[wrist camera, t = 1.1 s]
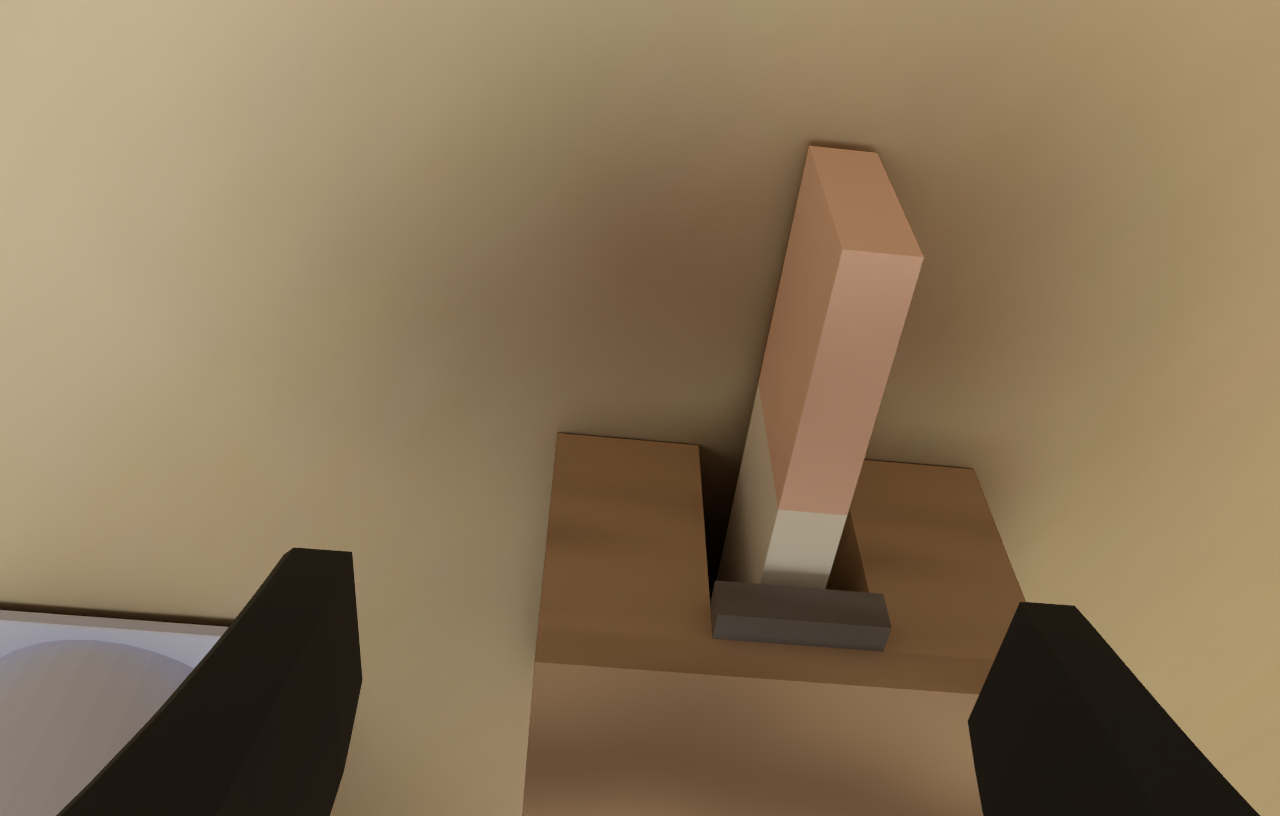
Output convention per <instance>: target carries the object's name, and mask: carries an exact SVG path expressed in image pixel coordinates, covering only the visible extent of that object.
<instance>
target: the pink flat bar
mask: <svg viewBox="0 0 1280 816" xmlns="http://www.w3.org/2000/svg"><path fill="white" fill-rule="evenodd" d="M923 259H924V256H923V254H922V252H921V249H920V247H919V245H918V243H917V241H916V238H915V236H914V234H913V232H912V229H911V227H910V225H909V223H908V220H907V218H906V216H905V214H904V211H903V209H902V207H901V205H900V203H899V200H898V198H897V196H896V194H895V191H894V189H893V187H892V185H891V182H890V180H889V178H888V176H887V173H886V171H885V169H884V167H883V165H882V162H881V160H880V158H879V156H878V153H874V152H864V151H855V150H845V149H836V148H826V147H817V146H809V148H808V153H807V158H806V162H805V167H804V172H803V176H802V181H801V186H800V190H799V195H798V200H797V204H796V209H795V214H794V219H793V223H792V228H791V233H790V237H789V242H788V247H787V251H786V256H785V261H784V266H783V270H782V275H781V280H780V284H779V289H778V294H777V298H776V303H775V308H774V312H773V317H772V322H771V327H770V331H769V336H768V341H767V345H766V350H765V355H764V359H763V364H762V369H761V373H760V378H759V383H758V388H757V392H756V397H755V402H754V406H753V411H752V416H751V420H750V425H749V430H748V434H747V439H746V444H745V449H744V453H743V458H742V463H741V467H740V472H739V477H738V481H737V486H736V491H735V495H734V500H733V505H732V510H731V514H730V519H729V524H728V528H727V533H726V538H725V542H724V547H723V552H722V556H721V561H720V566H719V571H718V575H717V580H716V581H727V582H740V583H752V584H765V585H778V586H790V587H803V588H816V589H826V585H827V582H828V578H829V575H830V572H831V568H832V565H833V562H834V558H835V555H836V552H837V548H838V545H839V542H840V538H841V535H842V531H843V528H844V525H845V521H846V518H847V515H848V511H849V508H850V505H851V501H852V498H853V494H854V491H855V488H856V484H857V481H858V478H859V474H860V471H861V468H862V464H863V461H864V458H865V454H866V451H867V447H868V444H869V441H870V437H871V434H872V431H873V427H874V424H875V421H876V417H877V414H878V411H879V407H880V404H881V400H882V397H883V394H884V390H885V387H886V384H887V380H888V377H889V374H890V370H891V367H892V363H893V360H894V357H895V353H896V350H897V347H898V343H899V340H900V337H901V333H902V330H903V327H904V323H905V320H906V316H907V313H908V310H909V306H910V303H911V300H912V296H913V293H914V290H915V286H916V283H917V279H918V276H919V273H920V269H921V266H922V263H923Z"/></svg>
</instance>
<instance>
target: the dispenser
mask: <svg viewBox="0 0 1280 816" xmlns="http://www.w3.org/2000/svg"><path fill="white" fill-rule="evenodd" d="M1020 602H1026V601H1025V598H1024V596H1023V593H1022V591H1021V588H1020V586H1019V583H1018V581H1017V578H1016V576H1015V573H1014V571H1013V568H1012V565H1011V563H1010V560H1009V558H1008V555H1007V553H1006V550H1005V548H1004V545H1003V543H1002V540H1001V538H1000V535H999V532H998V530H997V527H996V525H995V522H994V520H993V517H992V515H991V512H990V510H989V507H988V505H987V502H986V499H985V497H984V494H983V492H982V489H981V487H980V484H979V482H978V479H977V477H976V474H975V472H974V469H964V468H952V467H941V466H929V465H918V464H906V463H895V462H883V461H872V460H864V461H863V464H862V468H861V471H860V474H859V478H858V481H857V484H856V488H855V491H854V494H853V498H852V501H851V505H850V508H849V511H848V515H847V518H846V521H845V525H844V528H843V531H842V535H841V538H840V542H839V545H838V548H837V552H836V555H835V558H834V562H833V565H832V568H831V572H830V575H829V578H828V582H827V585H826V589H816V588H803V587H790V586H778V585H765V584H752V583H740V582H727V581H715V584H714V589H713V593H712V598H711V603H710V596H709V582H708V569H707V555H706V541H705V527H704V513H703V499H702V486H701V472H700V458H699V445H688V444H677V443H666V442H654V441H643V440H631V439H620V438H608V437H597V436H585V435H574V434H562V433H557V443H556V453H555V463H554V473H553V483H552V493H551V503H550V513H549V523H548V533H547V543H546V553H545V563H544V573H543V583H542V593H541V603H540V613H539V623H538V633H537V643H536V653H535V663H534V676H533V688H532V701H531V713H530V726H529V738H528V751H527V763H526V776H525V788H524V801H523V813H522V816H984V815H983V812H982V806H981V801H980V795H979V790H978V784H977V779H976V773H975V767H974V760H973V754H972V747H971V741H970V734H969V727H968V719H969V717H970V714H971V712H972V710H973V708H974V705H975V703H976V701H977V698H978V696H979V694H980V692H981V689H982V687H983V685H984V683H985V680H986V678H987V676H988V673H989V671H990V669H991V667H992V664H993V662H994V660H995V658H996V655H997V653H998V651H999V648H1000V646H1001V644H1002V642H1003V639H1004V637H1005V635H1006V633H1007V630H1008V628H1009V626H1010V623H1011V621H1012V619H1013V617H1014V614H1015V612H1016V610H1017V607H1018V605H1019V603H1020Z"/></svg>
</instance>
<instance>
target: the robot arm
mask: <svg viewBox="0 0 1280 816" xmlns="http://www.w3.org/2000/svg"><path fill="white" fill-rule="evenodd" d="M361 684H362V670H361V658H360V645H359V633H358V620H357V608H356V595H355V583H354V570H353V558H352V552H345V551H332V550H318V549H305V548H293V549H291V550H290V551H288V552H287V553H286V554H284V555H283V557H282V558H281V559H280V561H279V562H278V563H277V565H276V566H275V568H274V569H273V570H272V572H271V573H270V574H269V576H268V577H267V578H266V580H265V581H264V582H263V584H262V585H261V586H260V588H259V589H258V590H257V592H256V593H255V594H254V596H253V597H252V598H251V600H250V601H249V602H248V603H247V605H246V606H245V607H244V609H243V610H242V611H241V612H240V614H239V615H238V616H237V617H236V619H235V620H234V621H233V622H232V624H231V625H230V626H229V627H224V626H210V625H197V624H183V623H170V622H156V621H143V620H129V619H116V618H102V617H89V616H75V615H62V614H48V613H35V612H21V611H8V610H0V816H330V813H331V810H332V807H333V804H334V800H335V797H336V794H337V791H338V788H339V785H340V781H341V778H342V775H343V772H344V767H345V763H346V758H347V753H348V749H349V744H350V739H351V734H352V730H353V724H354V719H355V714H356V709H357V704H358V699H359V694H360V689H361ZM968 727H969V734H970V741H971V747H972V754H973V760H974V767H975V773H976V779H977V784H978V790H979V795H980V801H981V806H982V812H983V815H984V816H1260V815H1259V814H1258V813H1257V812H1256V811H1255V810H1254V809H1253V808H1252V807H1251V806H1250V805H1249V803H1248V802H1247V801H1246V800H1245V799H1244V798H1243V797H1242V796H1241V795H1240V794H1239V793H1238V792H1237V791H1236V790H1235V789H1234V787H1233V786H1232V785H1231V784H1230V783H1229V782H1228V781H1227V780H1226V779H1225V778H1224V777H1223V775H1222V774H1221V773H1220V772H1219V771H1218V770H1217V769H1216V768H1215V767H1214V766H1213V765H1212V763H1211V762H1210V761H1209V760H1208V759H1207V758H1206V757H1205V756H1204V754H1203V753H1202V752H1201V751H1200V750H1199V749H1198V748H1197V747H1196V746H1195V744H1194V743H1193V742H1192V741H1191V740H1190V739H1189V738H1188V736H1187V735H1186V734H1185V733H1184V732H1183V731H1182V730H1181V728H1180V727H1179V726H1178V725H1177V724H1176V723H1175V722H1174V720H1173V719H1172V718H1171V717H1170V716H1169V715H1168V714H1167V712H1166V711H1165V710H1164V709H1163V708H1162V707H1161V705H1160V704H1159V703H1158V702H1157V701H1156V700H1155V698H1154V697H1153V696H1152V695H1151V694H1150V693H1149V692H1148V690H1147V689H1146V688H1145V687H1144V686H1143V685H1142V683H1141V682H1140V681H1139V680H1138V679H1137V678H1136V676H1135V675H1134V674H1133V673H1132V672H1131V670H1130V669H1129V668H1128V667H1127V666H1126V665H1125V663H1124V662H1123V661H1122V660H1121V659H1120V658H1119V656H1118V655H1117V654H1116V653H1115V652H1114V650H1113V649H1112V648H1111V647H1110V646H1109V645H1108V643H1107V642H1106V641H1105V640H1104V639H1103V638H1102V636H1101V635H1100V634H1099V633H1098V632H1097V631H1096V629H1095V628H1094V627H1093V626H1092V625H1091V624H1090V623H1089V621H1088V620H1087V619H1086V618H1085V617H1084V616H1083V615H1082V614H1081V612H1080V611H1079V610H1078V609H1077V608H1076V607H1075V606H1070V605H1056V604H1043V603H1030V602H1020V603H1019V605H1018V607H1017V610H1016V612H1015V614H1014V617H1013V619H1012V621H1011V623H1010V626H1009V628H1008V630H1007V633H1006V635H1005V637H1004V639H1003V642H1002V644H1001V646H1000V648H999V651H998V653H997V655H996V658H995V660H994V662H993V664H992V667H991V669H990V671H989V673H988V676H987V678H986V680H985V683H984V685H983V687H982V689H981V692H980V694H979V696H978V698H977V701H976V703H975V705H974V708H973V710H972V712H971V714H970V717H969V719H968Z"/></svg>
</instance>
